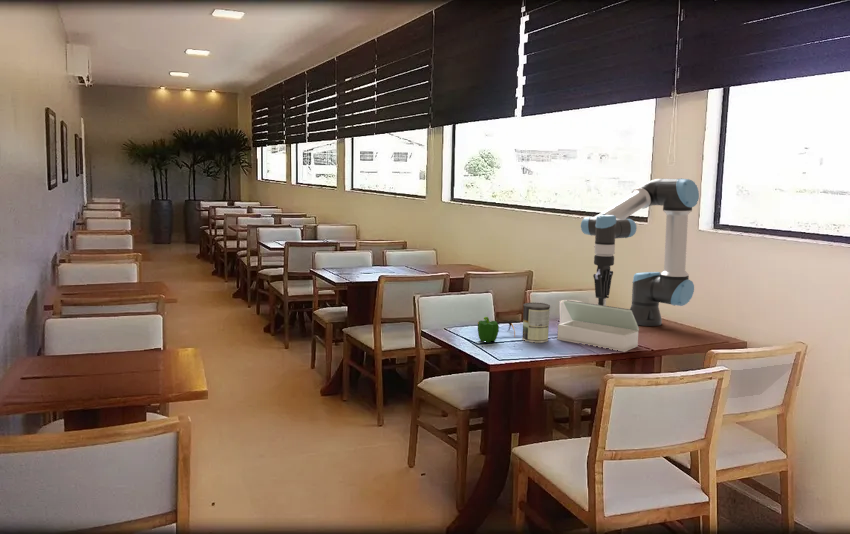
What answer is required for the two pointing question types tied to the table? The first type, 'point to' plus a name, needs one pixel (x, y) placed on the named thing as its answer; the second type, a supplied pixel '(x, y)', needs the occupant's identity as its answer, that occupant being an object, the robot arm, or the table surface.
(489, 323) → the bell pepper
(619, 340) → the duct channel
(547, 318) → the coffee can
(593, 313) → the pale green rectangular panel
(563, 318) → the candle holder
